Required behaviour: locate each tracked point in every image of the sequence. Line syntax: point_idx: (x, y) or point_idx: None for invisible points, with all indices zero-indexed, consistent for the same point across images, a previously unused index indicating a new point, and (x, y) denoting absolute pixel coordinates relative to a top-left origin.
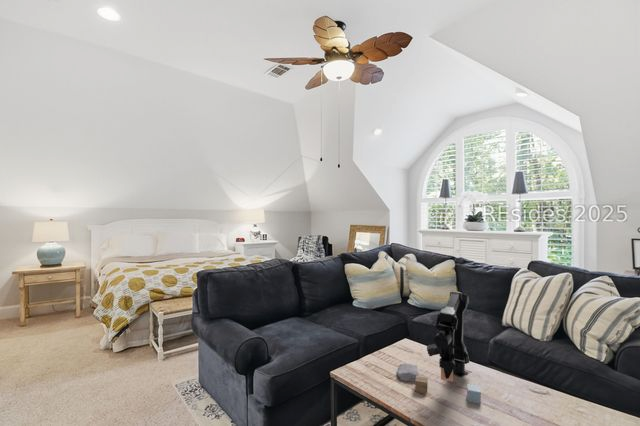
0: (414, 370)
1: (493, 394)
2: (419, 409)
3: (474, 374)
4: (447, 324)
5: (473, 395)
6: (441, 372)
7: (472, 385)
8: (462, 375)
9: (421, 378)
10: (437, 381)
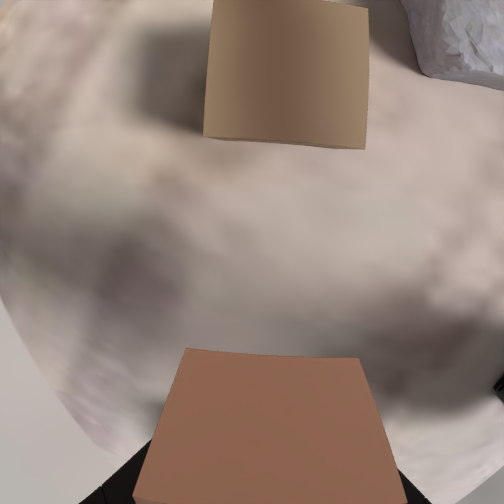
0: (498, 39)
1: None
2: (9, 114)
3: (497, 430)
4: None
5: None
6: (155, 436)
7: None
8: (498, 395)
9: (302, 63)
10: (454, 248)
